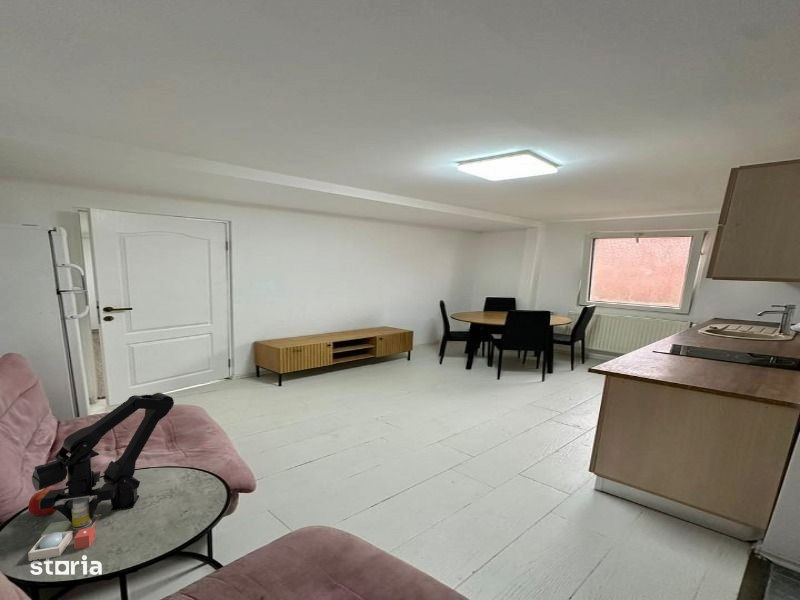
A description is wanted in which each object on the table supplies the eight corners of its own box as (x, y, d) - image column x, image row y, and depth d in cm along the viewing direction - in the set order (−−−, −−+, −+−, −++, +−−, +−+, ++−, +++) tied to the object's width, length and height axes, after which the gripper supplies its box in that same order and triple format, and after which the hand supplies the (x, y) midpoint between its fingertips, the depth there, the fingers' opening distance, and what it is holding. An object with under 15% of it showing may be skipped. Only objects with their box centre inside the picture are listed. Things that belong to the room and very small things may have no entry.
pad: (72, 520, 119) (72, 520, 119) (63, 533, 114) (63, 532, 114) (51, 523, 118) (51, 523, 118) (40, 536, 112) (40, 535, 112)
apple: (49, 521, 118) (47, 498, 118) (21, 522, 118) (19, 498, 117) (69, 505, 126) (68, 483, 125) (43, 505, 126) (41, 483, 125)
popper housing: (72, 538, 112) (72, 530, 112) (59, 555, 106) (59, 547, 105) (43, 542, 110) (43, 535, 110) (28, 561, 103) (28, 553, 103)
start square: (101, 515, 122) (101, 514, 122) (90, 530, 116) (90, 529, 116) (74, 519, 120) (74, 518, 120) (62, 534, 113) (62, 533, 113)
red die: (95, 538, 113) (94, 526, 112) (89, 546, 109) (88, 535, 109) (80, 540, 111) (80, 529, 111) (74, 549, 108) (73, 537, 108)
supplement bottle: (80, 519, 120) (78, 495, 119) (95, 519, 120) (94, 495, 120) (68, 530, 115) (66, 505, 114) (84, 529, 116) (83, 504, 115)
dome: (66, 540, 111) (65, 530, 110) (57, 552, 106) (56, 542, 106) (46, 543, 109) (45, 534, 109) (36, 555, 105) (35, 546, 104)
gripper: (124, 456, 127) (126, 499, 128) (57, 464, 121) (59, 508, 122) (111, 475, 116) (113, 521, 118) (36, 484, 110) (39, 532, 112)
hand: (82, 519), depth 118 cm, fingers closed on supplement bottle, 5 cm apart
